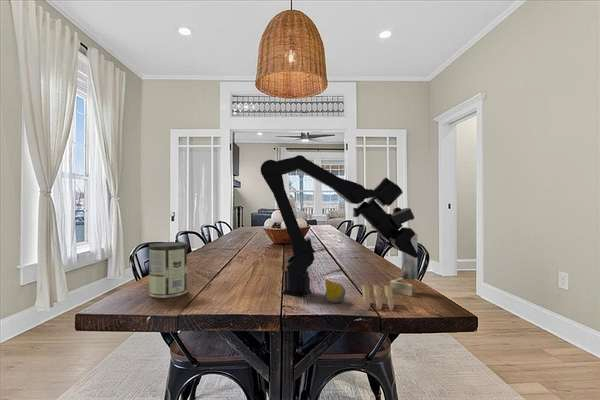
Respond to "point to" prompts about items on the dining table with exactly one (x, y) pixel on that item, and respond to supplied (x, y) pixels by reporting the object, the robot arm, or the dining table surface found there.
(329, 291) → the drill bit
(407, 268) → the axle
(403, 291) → the v block
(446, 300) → the dining table surface
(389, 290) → the ammunition
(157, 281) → the coffee can
